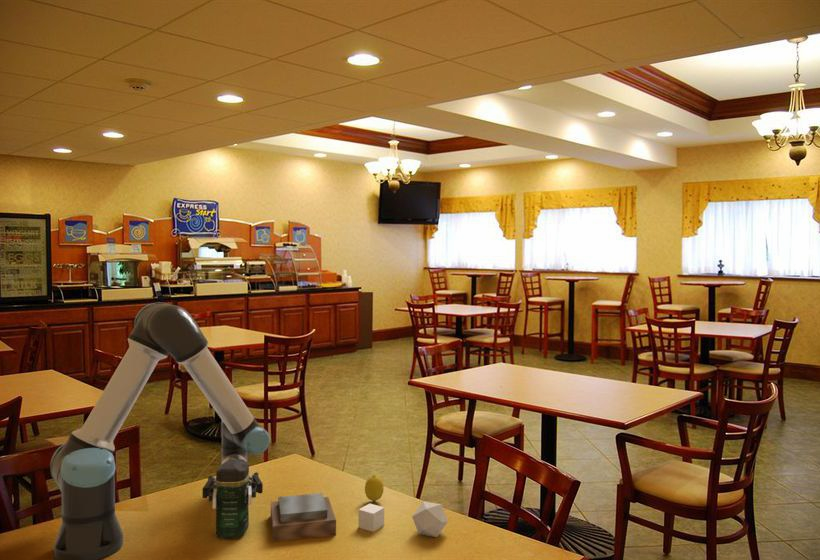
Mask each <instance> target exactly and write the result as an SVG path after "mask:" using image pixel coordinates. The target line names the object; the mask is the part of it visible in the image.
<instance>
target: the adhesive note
mask: <svg viewBox="0 0 820 560" xmlns="http://www.w3.org/2000/svg"><path fill="white" fill-rule="evenodd" d="M384 526H385V506H380V505H376V504H373V503H368V504H366V505H364V506H362V507H361V508H358V528H360V529H363V530H364V531H365V530H366V531H369V532H373V533H375V532H376V531H377V530H379V529H380V528H382V527H384Z"/></svg>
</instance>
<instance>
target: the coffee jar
mask: <svg viewBox="0 0 820 560" xmlns="http://www.w3.org/2000/svg"><path fill="white" fill-rule="evenodd" d="M215 474H216V476H215V478H216V508H215V536H216V537H217V538H220V539H223V540H233V539H238V538H242V537H243V536H244V535H245V534H246V533H247V531H248V529H249V523H250V522H249V521H250V520H249V519H250V515H249V512H250V511H249V498H248V488H249V481H250V480H249V475H250V465H249V463H248V461H247V462H246V461H245V460H243V459H229V460H228V461H226V462H225V463H223V464H222V465H221V464H220V466H219V467H217V470H216V473H215Z"/></svg>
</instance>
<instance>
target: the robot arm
mask: <svg viewBox="0 0 820 560" xmlns="http://www.w3.org/2000/svg"><path fill="white" fill-rule="evenodd" d="M133 324H134V328H133V329H132V330H131V332H130V334H129V336H128V337H127V341H128V346H129V347H128V348H127V351H126V353H125V354H124V356H123V358H122V359H121V361H120V363H119V364H118V366H117V368H116V369H115V371H114V373H112V374H113V375H112V376H111V377H110V380H109V381H108V383H107V385H106V386H105V388H104V389H103V391H102V393H101V395H100V396H99V398H98V400H97V401H96V403H95V404H94V406H93V408H92V410H91V412H90V413H89V415H88V417H87V418H86V420H85V422H84V423H83V425H82V426H81V428H78V429H75V430H74V431H72V432H71V434H70V435H69V437H68V439H67V440H66V442H65V443H63V444H62V445H61V446H59V447H58V448H57V449H56V450H55V451H54V453H53V455H52V457H51V460H50V475H51V477H52V480H53V482H54V483H55V484H56V485H57V487H58V489H59V491H60V493H61V524H60V527H59V530H58V533H57V536H56V539H55V542H54V546H53V557H54V558H56V559H55V560H101V559H103V558H106V557H108V556H111V555H112V554H115V553H116V552H118V551H119V550H120V549H121V548H122V547H123V544H124V533H123V530H122V528H121V525H120V522H119V520H118V517H117V514H116V463H115V456H114V455H113V453H114V452H115V450H116V448H115V444H114V441H115V438H116V436H117V435H118V433H119V431H120V429H121V428H122V426H123V424H124V423H125V421H126V419H127V417H128V415H129V414H130V412H131V410H132V409H133V407H134V405H135V403H136V402H137V400H138V398H139V396H140V395H141V394H142V393H141V392H142V391H143V389H144V387H145V386H146V384H147V382H148V381H149V379H150V377H151V375H152V374H153V372H154V370H155V368H156V366H157V364H158V363H159V361H162V360H165V359H166V358H168V357H169V355H171V357H172V358H173V359H174V361H175V362H176V363H177V364H182V365H183V367H184V368H185V370H186V371H187V373H188V374H189V375H190V376H191V378H192V379H193V381H194V383H196V385H197V387H198V388H199V390H200V391H201V392H202V394H203V395H204V397H205V398H206V399H207V401H208V402H209V404H210V405H211V407H212V408H213V409H214V411H215V412H216V415H218V417H219V418H220V419H221V422H220V425H221V464H220V466H221V465H222V464H223V463H225V462H226V461H228V460H229V459H243V460H245V461H246V462H247V463H248V458H249V457H248V454H250V455H253V456H257V455H261V454H263V453H264V452H265V451H267V449H268V447H269V445H270V442H271V438H270V434H269V432H268V431H267V430H266V429H265V428H263V427H261V425H259V423H258V421H257V420H256V418H254V416H253V414H252V413H251V411H250V409H249V408H248V407H247V405H246V404H245V402H244V400H243V399H242V398H241V396H240V394H239V393H238V392H237V389H236V388H235V387H234V385H233V384H232V382H231V381H230V379H229V378H228V376H227V375H226V373H225V372H224V370H223V369H222V368H221V366H220V364H219V362H218V361H217V360H216V359H215V357H214V356H213V354H212V352H211V350H210V349H208V347H209V341H208V339H207V337H205V335H204V333H203V332H202V330H201V329H200V327H199V325H198V323H197V322H196V321H195V319H194V317H193V316H192V315H191V313H189V311H187V309H185V308H183V307H181V306H179V305H173V304H170V303H168V302H162V301H161V302H160V301H159V302H153V303H149V304H147V305H145V306H144V307H142V308H141V309H140V310H139V311H138V312H137V314H136V316H135V318H134V323H133ZM263 487H264V485H263V481H262V480H261V479H260V477H259V472H254V473H253V474H252V473H251V475H250V474H249V488H248V498H249V501H248V506H252V503H253V498H257V493H258V494H263ZM201 494H202V499H206V498H208V502H212V509H213V510H214V509H215V510H216V476H215V477H214V476H212V475H209V476H207V481H206V482H205V484H204V485H203V487H202V493H201Z"/></svg>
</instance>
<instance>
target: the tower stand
mask: <svg viewBox="0 0 820 560" xmlns="http://www.w3.org/2000/svg"><path fill="white" fill-rule="evenodd" d="M270 521H271V522H270V523H271V534H272V540H273V543H274V542H283V541H285V542H286V541H292V540H300V539H301V540H304V539H313V538H321V537H322V538H323V537H329V536H331V537H332V536H336V535H337V518H336V515H335V513H334V509H333V506H332V504H331V501H330V498H329V496H324V495H323V492H319V493H318V492H317V493H309V494H297V495H286V496H284V495H283V496H278V501H271V502H270Z"/></svg>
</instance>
